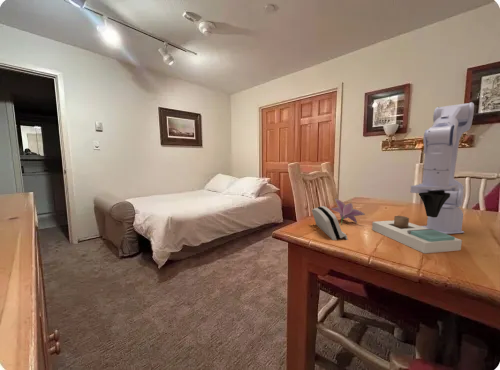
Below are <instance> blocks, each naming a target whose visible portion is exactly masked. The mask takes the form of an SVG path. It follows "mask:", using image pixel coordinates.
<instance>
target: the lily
mask: <svg viewBox="0 0 500 370" xmlns="http://www.w3.org/2000/svg"><path fill="white" fill-rule="evenodd" d="M334 200H335V203H336V205H337V206H336V207H331V211H334V212H337V213H339V217H340V219H341V222H340V225H342V224H343V220H345V219H347V218H348V219H350V220H351V221H353V222H354V223H356V224H357V223H358V221H357V218H356V217H357V216H365V215H366V214H365V213H364V212H362V211H361V210H358V209H356V208H354V206H353V203H352V202H350V203H349V202H348V203H347V204H345V203H344V202H343V201H341V200H340V199H338V198H335V199H334Z"/></svg>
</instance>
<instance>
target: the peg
mask: <svg viewBox="0 0 500 370" xmlns="http://www.w3.org/2000/svg"><path fill="white" fill-rule="evenodd" d="M393 221H394V227H397V228H399V229H408V223H410V218H409V217H408V216H404V215H395V216H394V218H393Z"/></svg>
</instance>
